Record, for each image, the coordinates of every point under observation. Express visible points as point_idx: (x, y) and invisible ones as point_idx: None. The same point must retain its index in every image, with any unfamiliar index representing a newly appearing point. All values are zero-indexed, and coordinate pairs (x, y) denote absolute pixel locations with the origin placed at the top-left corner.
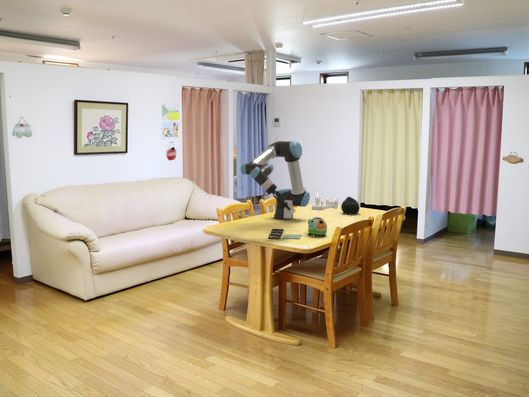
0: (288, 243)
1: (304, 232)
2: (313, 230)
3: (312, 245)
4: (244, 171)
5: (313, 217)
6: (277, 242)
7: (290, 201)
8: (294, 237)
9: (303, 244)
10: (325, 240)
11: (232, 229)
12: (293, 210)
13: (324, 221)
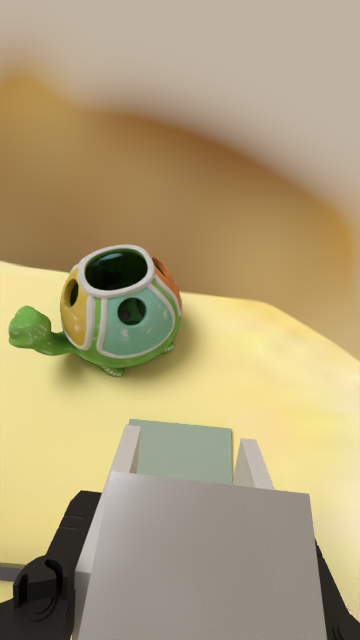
0: (352, 511)
1: (46, 392)
2: (170, 335)
3: (346, 370)
4: None
5: (93, 291)
6: (353, 609)
7: (274, 534)
8: (211, 464)
9: (343, 414)
10: (233, 307)
11: None
12: (262, 459)
13: (145, 250)
